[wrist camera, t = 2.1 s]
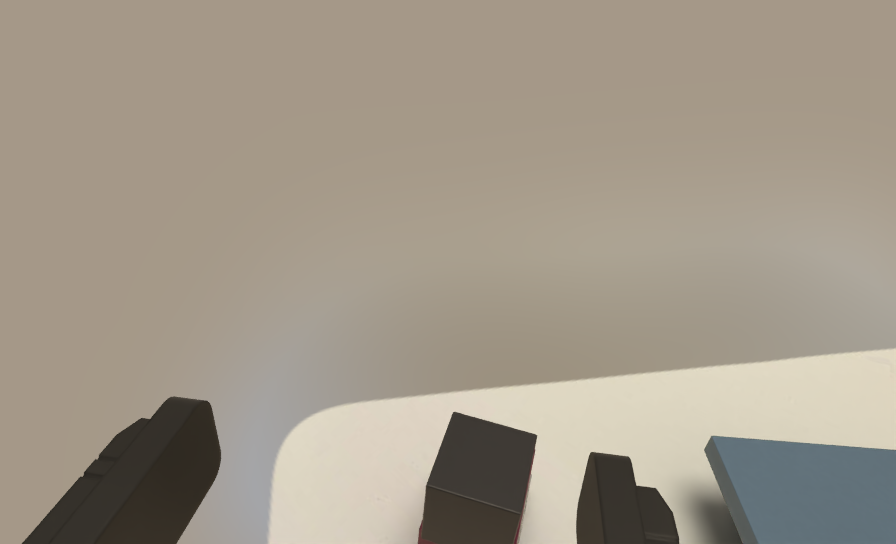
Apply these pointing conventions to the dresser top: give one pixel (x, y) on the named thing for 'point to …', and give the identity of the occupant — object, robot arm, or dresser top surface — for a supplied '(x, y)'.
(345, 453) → the dresser top surface
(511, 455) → the stacked block tower
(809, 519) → the ironing board
